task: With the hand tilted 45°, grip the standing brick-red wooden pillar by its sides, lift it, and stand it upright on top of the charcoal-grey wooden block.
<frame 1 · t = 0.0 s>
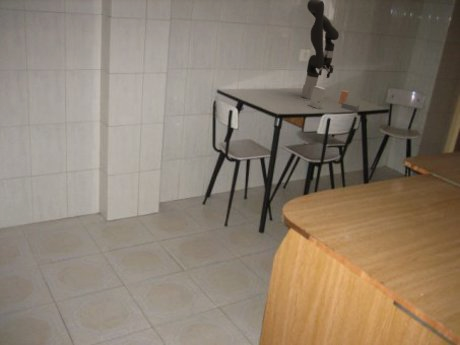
hand: (323, 76, 374), 17 cm above the table, tool pointing down, fingers open, 8 cm apart
skincare box: (315, 107, 346), on the table
brick pillar: (342, 103, 374), on the table
charcoal block: (349, 108, 362), on the table
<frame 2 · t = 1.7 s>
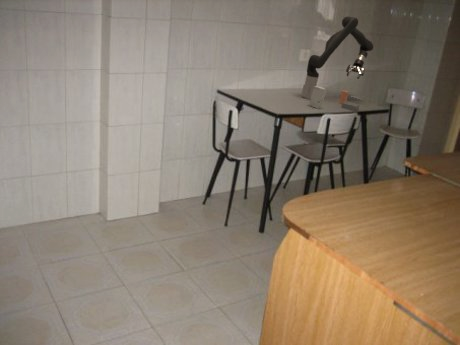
hand: (352, 77, 377), 20 cm above the table, tool tilted 45°, fingers open, 8 cm apart
nothing on the table moved.
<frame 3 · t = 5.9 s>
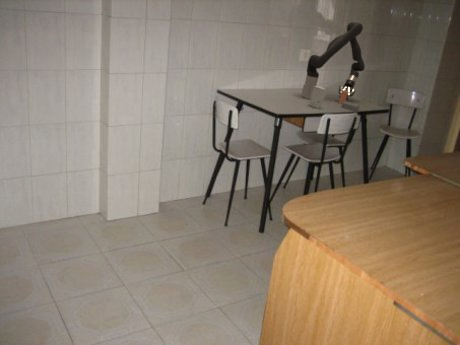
hand: (343, 98, 371), 4 cm above the table, tool tilted 45°, fingers closed on brick pillar, 4 cm apart
brick pillar: (342, 103, 374), on the table, touching gripper
everything else where it was.
when the fingers open (10 cm above the table, at t = 11.3 s): brick pillar drops 2 cm, resting on charcoal block.
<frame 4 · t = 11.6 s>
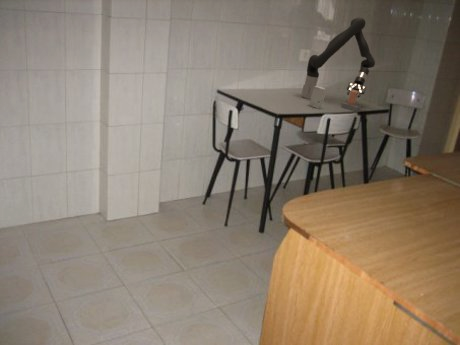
hand: (352, 95, 357), 10 cm above the table, tool tilted 45°, fingers open, 7 cm apart
brick pillar: (351, 103, 360), point 4 cm above the table, touching charcoal block
charcoal block: (349, 109, 362), on the table, touching brick pillar
everything else where it was.
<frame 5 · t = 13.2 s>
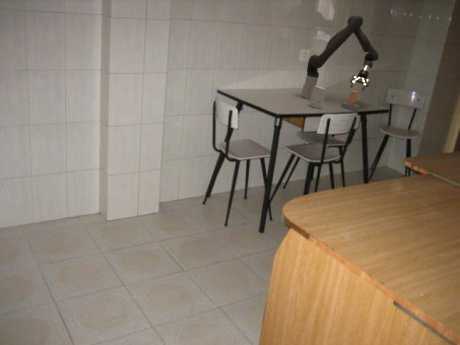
hand: (356, 88, 360), 15 cm above the table, tool tilted 45°, fingers open, 8 cm apart
brick pillar: (351, 104, 360), point 4 cm above the table
charcoal block: (349, 109, 362), on the table
everything else where it was.
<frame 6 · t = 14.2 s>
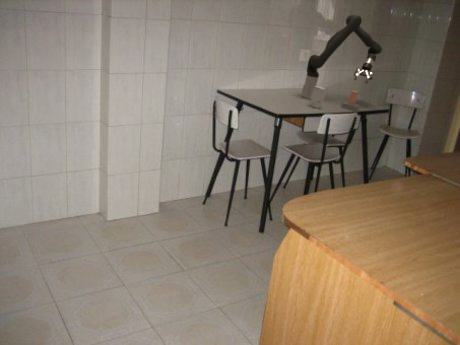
hand: (360, 81, 364), 20 cm above the table, tool tilted 45°, fingers open, 8 cm apart
brick pillar: (351, 104, 360), point 4 cm above the table, touching charcoal block
charcoal block: (349, 108, 362), on the table, touching brick pillar
everything else where it was.
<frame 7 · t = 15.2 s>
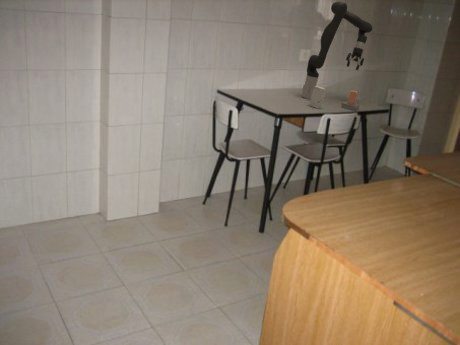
hand: (352, 68, 372), 27 cm above the table, tool tilted 15°, fingers open, 8 cm apart
brick pillar: (351, 104, 360), point 4 cm above the table
charcoal block: (349, 108, 362), on the table
everything else where it was.
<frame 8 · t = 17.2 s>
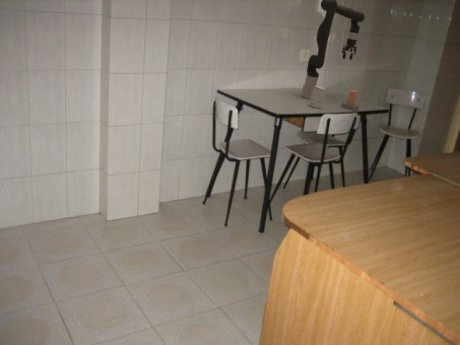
hand: (347, 59, 375), 33 cm above the table, tool pointing down, fingers open, 8 cm apart
brick pillar: (350, 103, 361), point 4 cm above the table, touching charcoal block
charcoal block: (349, 108, 362), on the table, touching brick pillar
everything else where it was.
at the end: brick pillar 0.2 cm off-centre on the charcoal block, point 4.2 cm above the charcoal block's base; brick pillar tilted 3°; the gripper is holding nothing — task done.
